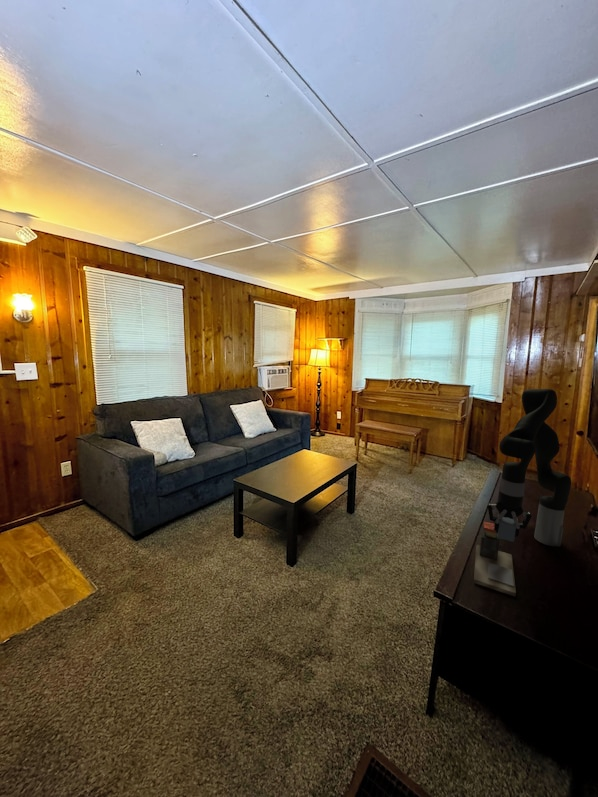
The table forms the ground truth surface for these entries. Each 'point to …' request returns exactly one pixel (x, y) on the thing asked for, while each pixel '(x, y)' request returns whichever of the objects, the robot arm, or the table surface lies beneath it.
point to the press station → (494, 566)
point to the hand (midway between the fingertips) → (505, 533)
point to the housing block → (507, 529)
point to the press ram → (489, 530)
